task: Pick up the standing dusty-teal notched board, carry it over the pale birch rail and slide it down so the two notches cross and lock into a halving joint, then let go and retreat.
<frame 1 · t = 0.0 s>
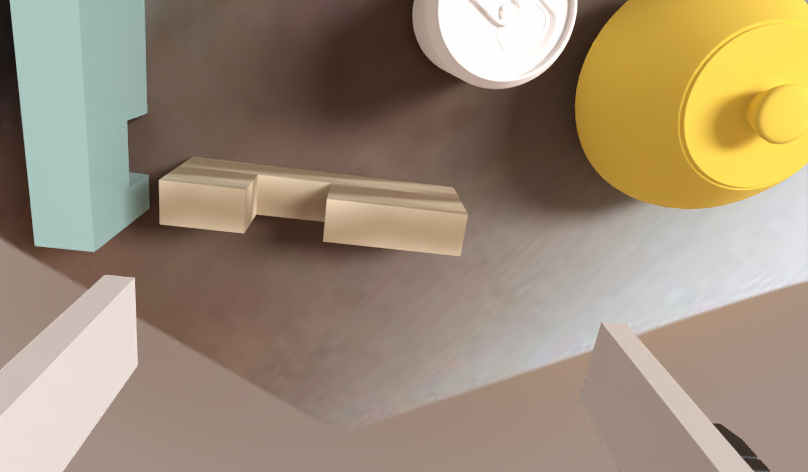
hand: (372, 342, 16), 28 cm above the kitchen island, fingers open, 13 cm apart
teal board: (120, 71, 39), on the kitchen island
birch rail: (324, 190, 43), on the kitchen island
teapot: (674, 61, 41), on the kitchen island
beverage can: (468, 16, 39), on the kitchen island
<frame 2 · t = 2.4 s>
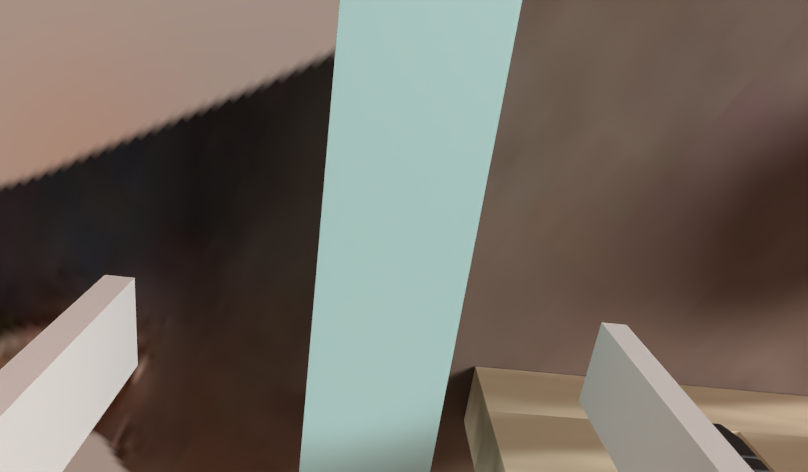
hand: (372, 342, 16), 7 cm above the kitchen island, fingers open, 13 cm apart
teal board: (378, 240, 22), on the kitchen island
birch rail: (677, 411, 26), on the kitchen island
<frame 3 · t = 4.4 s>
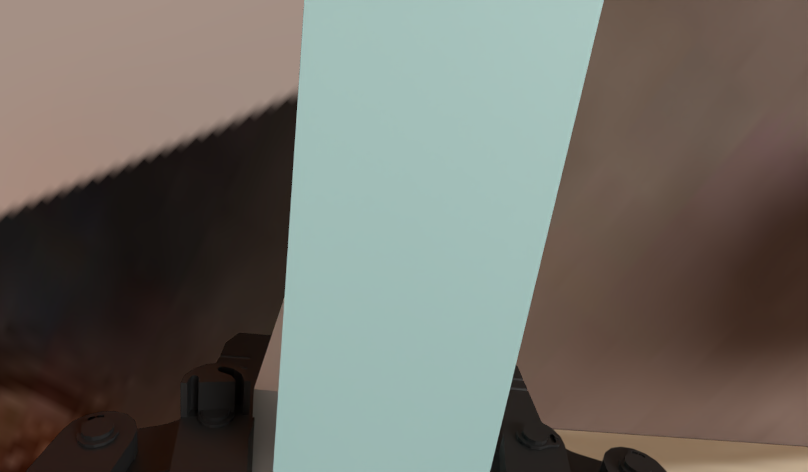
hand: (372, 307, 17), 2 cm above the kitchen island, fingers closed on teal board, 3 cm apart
teal board: (373, 295, 18), point 2 cm above the kitchen island, touching gripper
birch rail: (690, 467, 24), on the kitchen island
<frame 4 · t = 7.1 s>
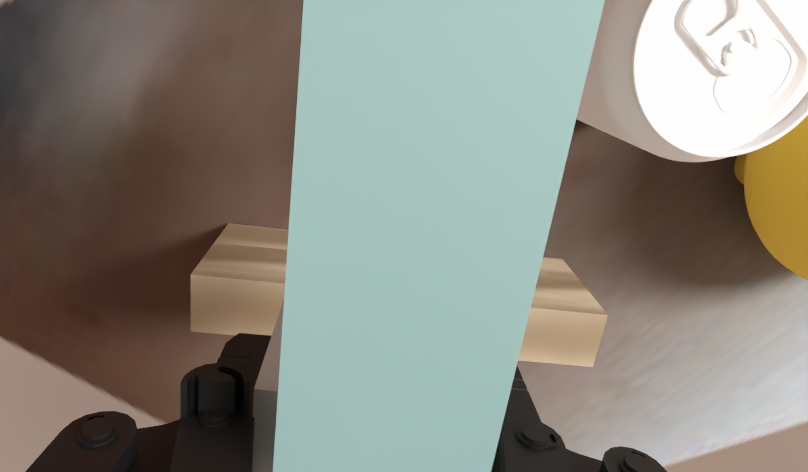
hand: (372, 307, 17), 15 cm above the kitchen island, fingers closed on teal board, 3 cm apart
teal board: (373, 298, 18), point 14 cm above the kitchen island, touching gripper
birch rail: (397, 264, 33), on the kitchen island
beverage can: (597, 41, 29), on the kitchen island
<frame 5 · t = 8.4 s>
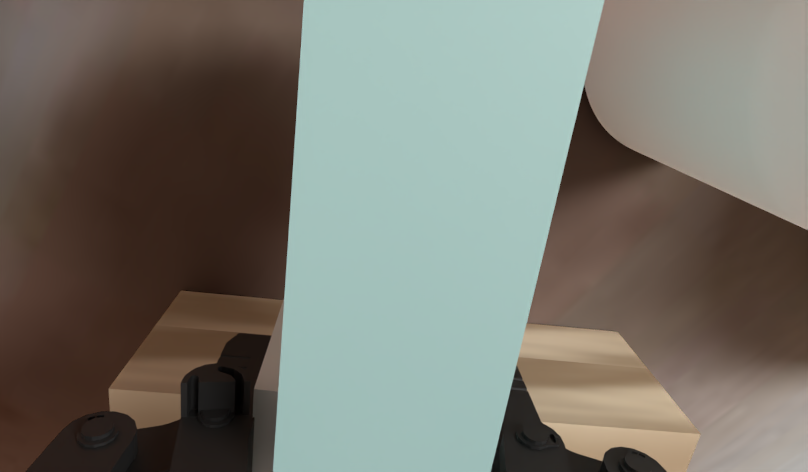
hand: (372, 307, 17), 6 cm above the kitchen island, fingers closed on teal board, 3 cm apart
teal board: (373, 298, 18), point 6 cm above the kitchen island, touching gripper
birch rail: (403, 340, 25), on the kitchen island
beverage can: (675, 51, 22), on the kitchen island
when the fingers open (1 cm above the kitchen island, at t = 9.6 s): teal board stays where it is, on the kitchen island.
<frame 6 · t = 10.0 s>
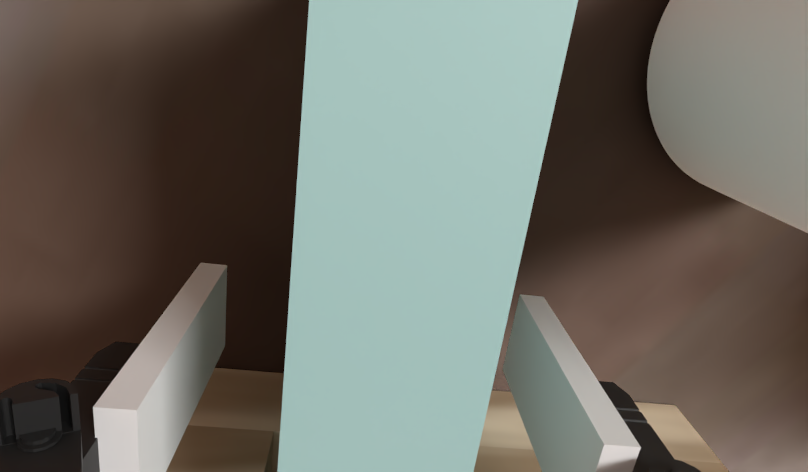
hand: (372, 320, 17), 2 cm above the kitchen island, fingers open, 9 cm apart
teal board: (372, 286, 18), on the kitchen island
birch rail: (410, 417, 20), on the kitchen island
beverage can: (763, 60, 17), on the kitchen island
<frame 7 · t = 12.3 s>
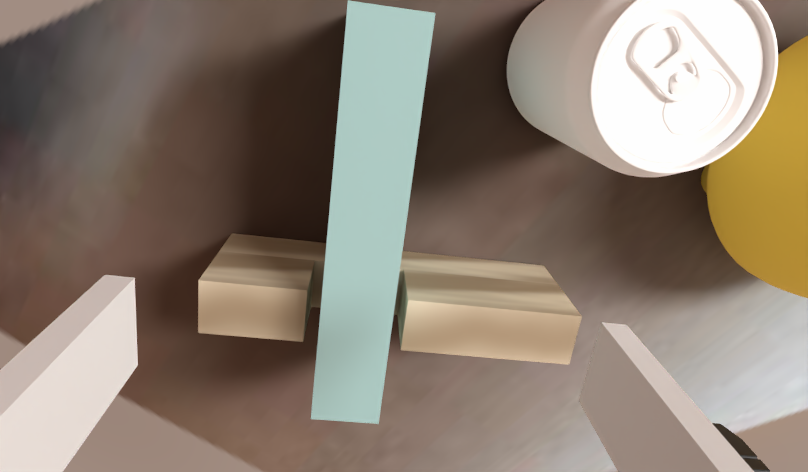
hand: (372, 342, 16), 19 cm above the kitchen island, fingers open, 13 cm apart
teal board: (366, 190, 33), on the kitchen island
birch rail: (389, 271, 35), on the kitchen island
beverage can: (571, 65, 32), on the kitchen island
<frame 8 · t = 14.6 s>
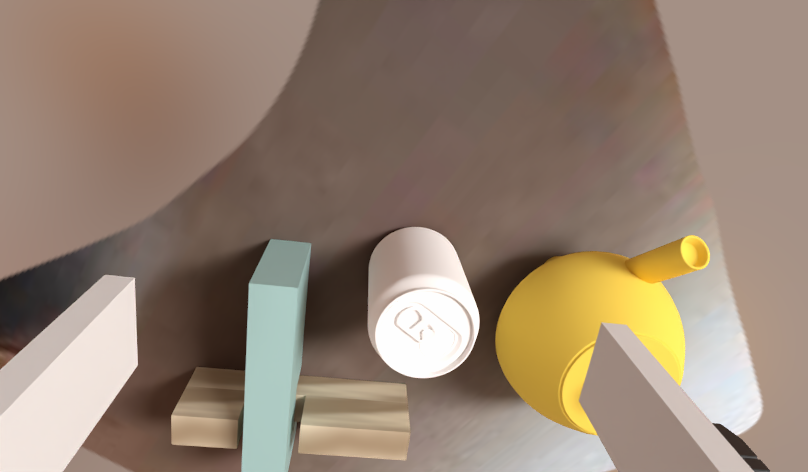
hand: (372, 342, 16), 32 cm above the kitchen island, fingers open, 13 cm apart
teal board: (284, 340, 51), on the kitchen island
birch rail: (302, 388, 53), on the kitchen island
teapot: (579, 292, 52), on the kitchen island
beverage can: (413, 265, 50), on the kitchen island
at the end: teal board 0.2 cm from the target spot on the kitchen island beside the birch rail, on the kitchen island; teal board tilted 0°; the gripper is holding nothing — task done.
